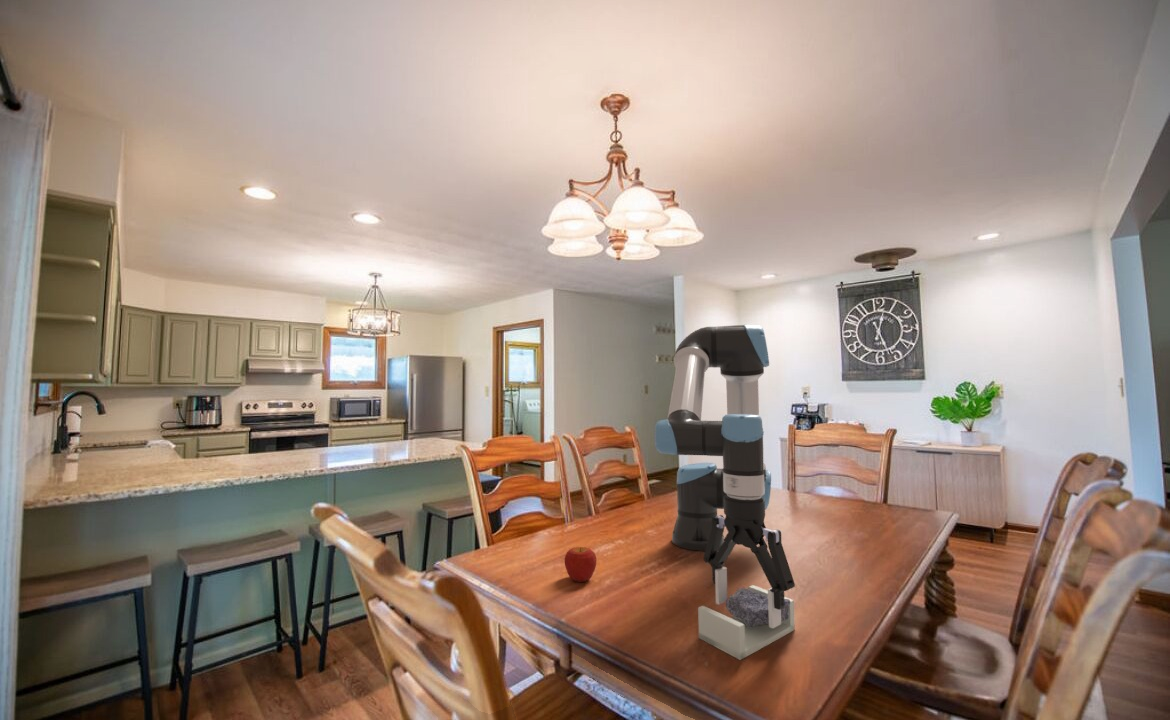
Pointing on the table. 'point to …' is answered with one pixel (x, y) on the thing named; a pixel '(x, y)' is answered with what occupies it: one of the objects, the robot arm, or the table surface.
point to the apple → (580, 563)
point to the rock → (752, 607)
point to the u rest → (740, 630)
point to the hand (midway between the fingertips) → (747, 613)
